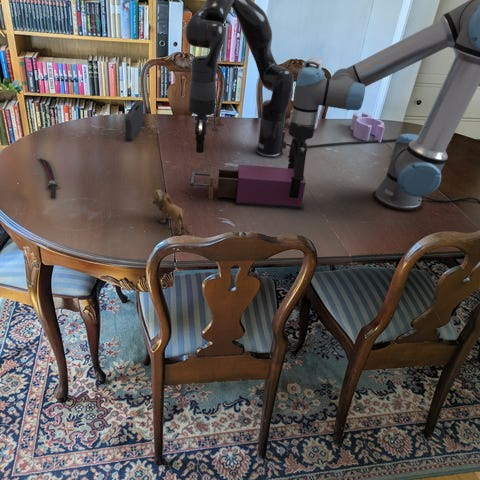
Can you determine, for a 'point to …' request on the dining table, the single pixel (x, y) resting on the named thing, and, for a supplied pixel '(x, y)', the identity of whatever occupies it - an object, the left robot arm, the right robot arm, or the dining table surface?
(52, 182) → the sword
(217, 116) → the miniature windmill
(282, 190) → the purple rectangular box
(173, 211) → the lion figurine
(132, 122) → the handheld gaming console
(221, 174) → the drawer
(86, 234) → the dining table surface
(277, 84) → the left robot arm
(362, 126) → the clip
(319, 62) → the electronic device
